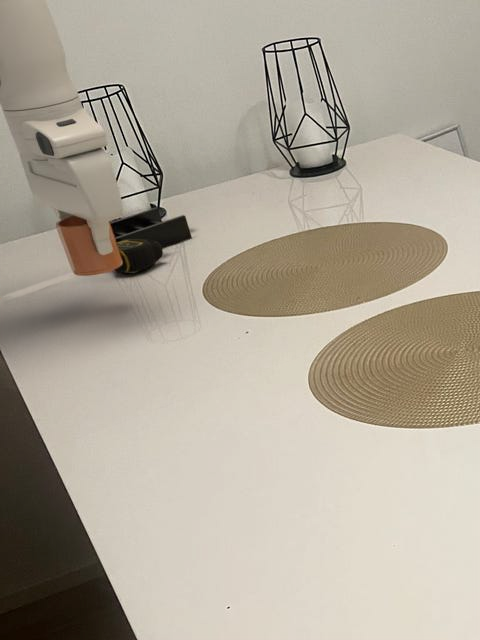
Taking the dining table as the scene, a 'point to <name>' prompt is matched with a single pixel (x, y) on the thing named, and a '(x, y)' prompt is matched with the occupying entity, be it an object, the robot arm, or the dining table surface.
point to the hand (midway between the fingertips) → (92, 248)
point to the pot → (86, 248)
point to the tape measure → (138, 254)
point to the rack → (152, 228)
